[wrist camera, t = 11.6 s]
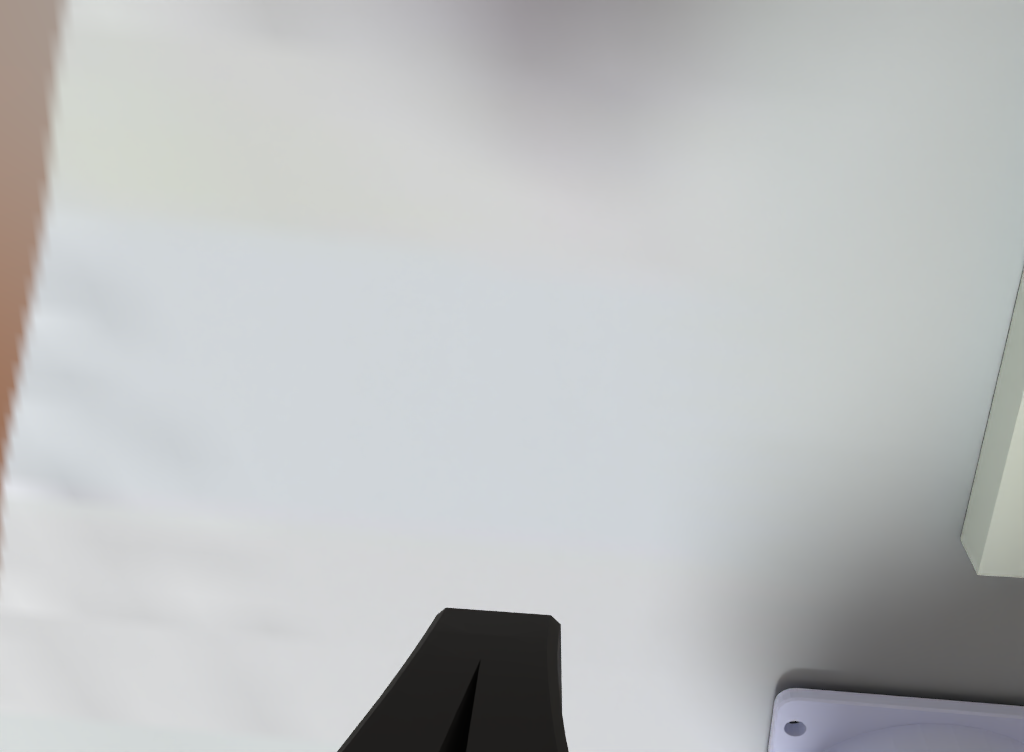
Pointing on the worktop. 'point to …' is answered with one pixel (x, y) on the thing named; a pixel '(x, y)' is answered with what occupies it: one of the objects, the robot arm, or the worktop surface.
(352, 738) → the robot arm
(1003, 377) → the frame
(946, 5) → the worktop surface
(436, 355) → the worktop surface
